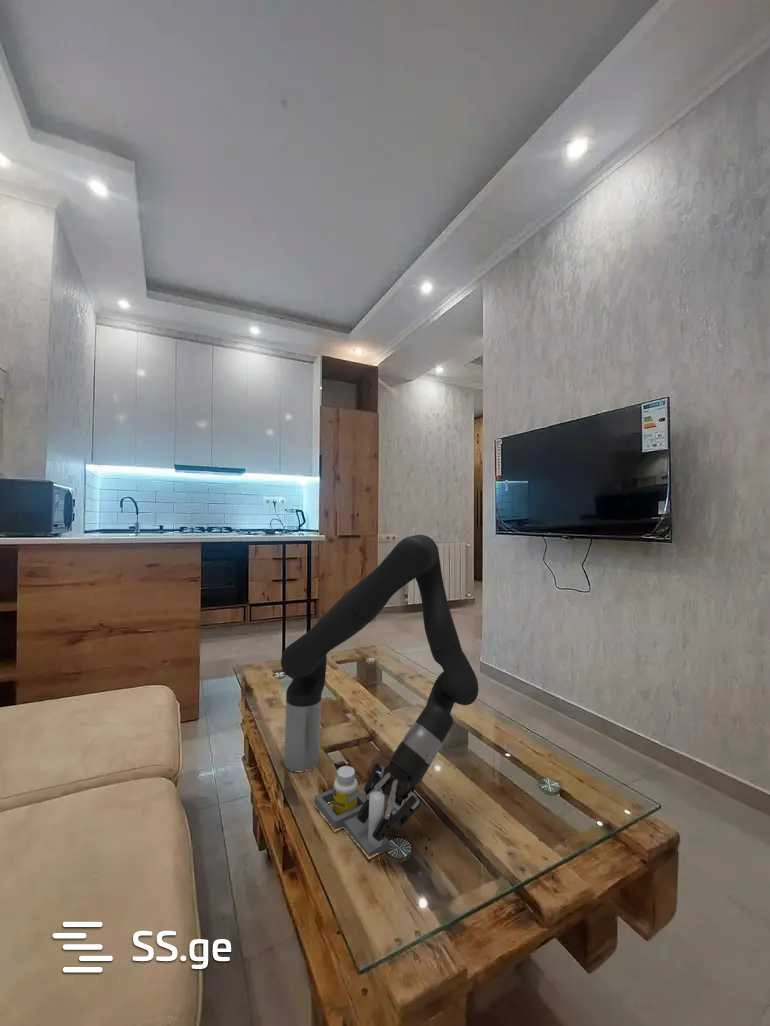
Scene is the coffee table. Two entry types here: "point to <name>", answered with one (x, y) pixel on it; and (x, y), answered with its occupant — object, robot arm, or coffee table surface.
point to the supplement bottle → (345, 790)
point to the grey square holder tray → (352, 824)
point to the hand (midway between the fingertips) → (368, 829)
